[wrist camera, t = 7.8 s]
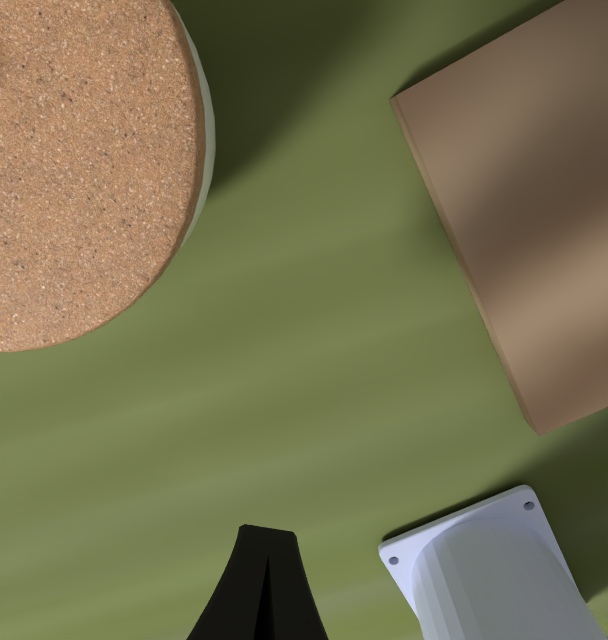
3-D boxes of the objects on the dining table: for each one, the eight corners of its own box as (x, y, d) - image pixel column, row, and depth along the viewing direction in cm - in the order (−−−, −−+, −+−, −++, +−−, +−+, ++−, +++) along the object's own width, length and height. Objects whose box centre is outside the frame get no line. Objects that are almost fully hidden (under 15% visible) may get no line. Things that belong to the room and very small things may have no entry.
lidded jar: (-126, 36, 16) (-652, -109, 7) (158, -103, 15) (-50, -483, 6) (43, 314, 19) (-171, 449, 11) (284, 219, 18) (272, 282, 9)
